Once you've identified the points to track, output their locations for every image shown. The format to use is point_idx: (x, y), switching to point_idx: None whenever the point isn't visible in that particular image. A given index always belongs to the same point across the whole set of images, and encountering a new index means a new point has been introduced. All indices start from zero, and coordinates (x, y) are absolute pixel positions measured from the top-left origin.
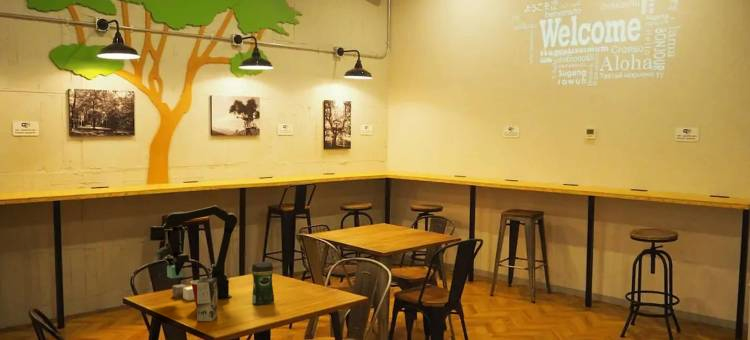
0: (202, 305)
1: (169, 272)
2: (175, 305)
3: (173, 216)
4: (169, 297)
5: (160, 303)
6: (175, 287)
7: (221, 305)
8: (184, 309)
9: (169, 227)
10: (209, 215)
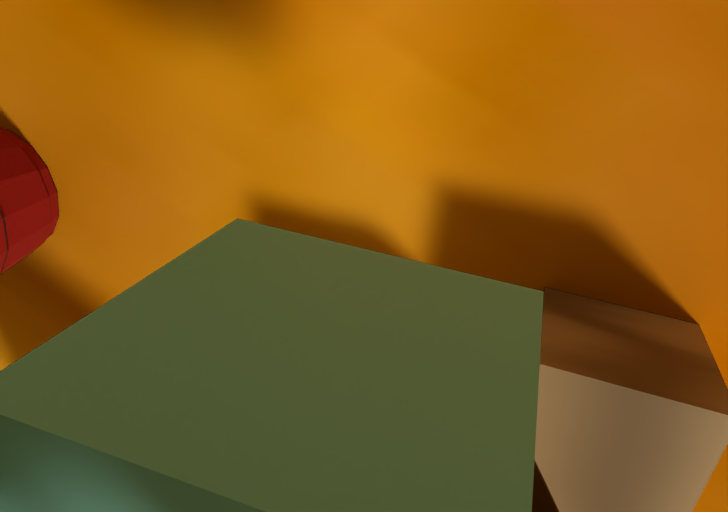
0: None
1: (323, 325)
2: (247, 54)
3: None
4: (674, 254)
5: None
6: (604, 377)
7: (10, 328)
8: (42, 25)
9: None
10: None
